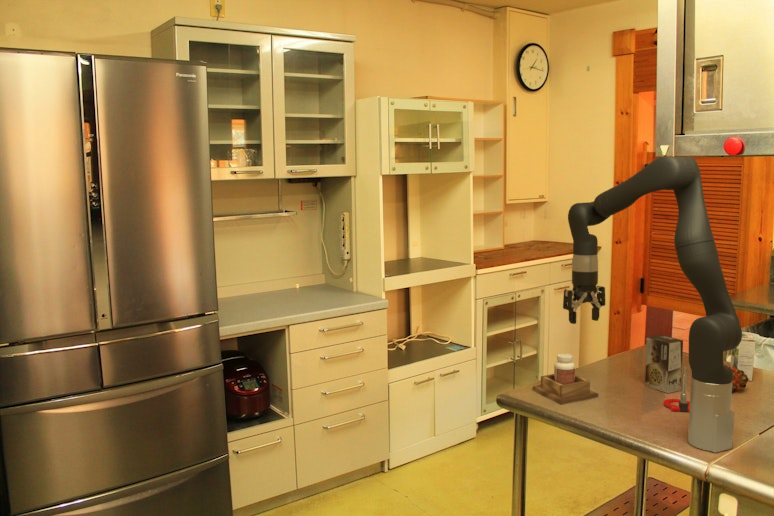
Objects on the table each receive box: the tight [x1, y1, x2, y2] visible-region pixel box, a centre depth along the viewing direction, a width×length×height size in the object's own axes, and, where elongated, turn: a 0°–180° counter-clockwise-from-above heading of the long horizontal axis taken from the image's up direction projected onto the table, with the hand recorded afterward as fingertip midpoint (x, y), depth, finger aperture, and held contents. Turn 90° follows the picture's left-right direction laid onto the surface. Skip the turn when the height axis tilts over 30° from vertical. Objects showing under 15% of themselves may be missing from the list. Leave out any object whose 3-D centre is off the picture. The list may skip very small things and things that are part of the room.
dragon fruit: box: [724, 364, 749, 392], centre depth 204 cm, size 8×8×12 cm
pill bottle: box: [553, 353, 576, 385], centre depth 202 cm, size 6×6×11 cm
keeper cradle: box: [532, 373, 599, 406], centre depth 203 cm, size 14×14×5 cm
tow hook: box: [662, 366, 690, 413], centre depth 191 cm, size 8×13×9 cm
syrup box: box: [729, 332, 756, 382], centre depth 214 cm, size 6×6×14 cm
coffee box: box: [644, 334, 684, 394], centre depth 206 cm, size 9×6×16 cm
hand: (584, 321), depth 199 cm, fingers open, 8 cm apart
